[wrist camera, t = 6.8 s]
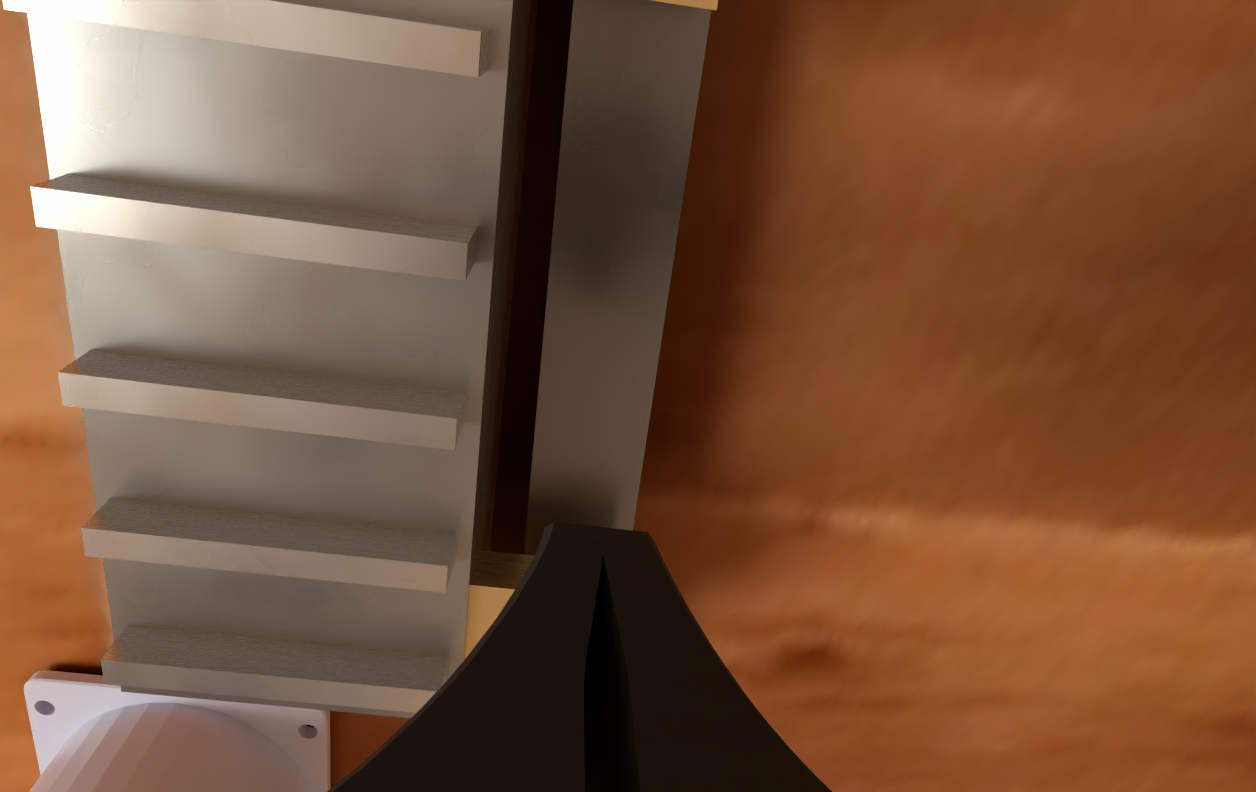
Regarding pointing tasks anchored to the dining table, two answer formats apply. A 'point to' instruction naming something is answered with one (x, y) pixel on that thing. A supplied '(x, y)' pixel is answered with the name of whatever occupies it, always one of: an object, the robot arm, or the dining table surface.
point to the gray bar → (612, 254)
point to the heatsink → (289, 330)
